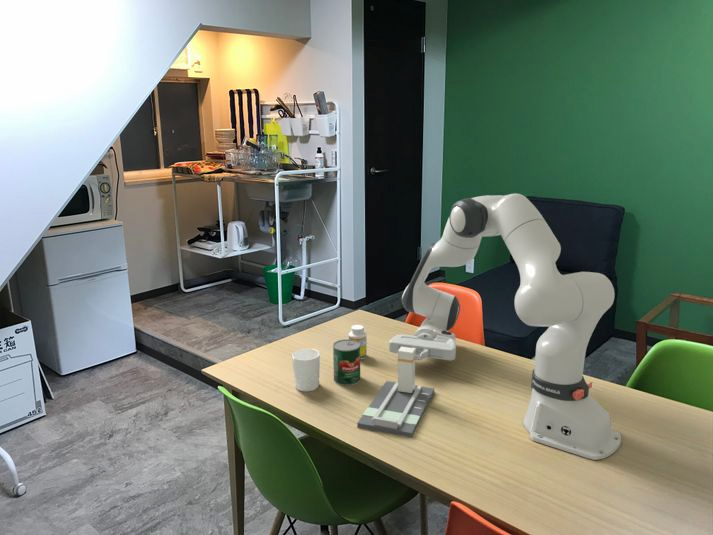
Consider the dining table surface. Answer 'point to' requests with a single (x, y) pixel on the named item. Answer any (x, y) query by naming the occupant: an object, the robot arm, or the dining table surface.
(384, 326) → the dining table surface
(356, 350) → the canned tomato
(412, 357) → the fader
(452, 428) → the dining table surface
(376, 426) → the grey slider track base
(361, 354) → the supplement bottle
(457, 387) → the dining table surface
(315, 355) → the white cup
